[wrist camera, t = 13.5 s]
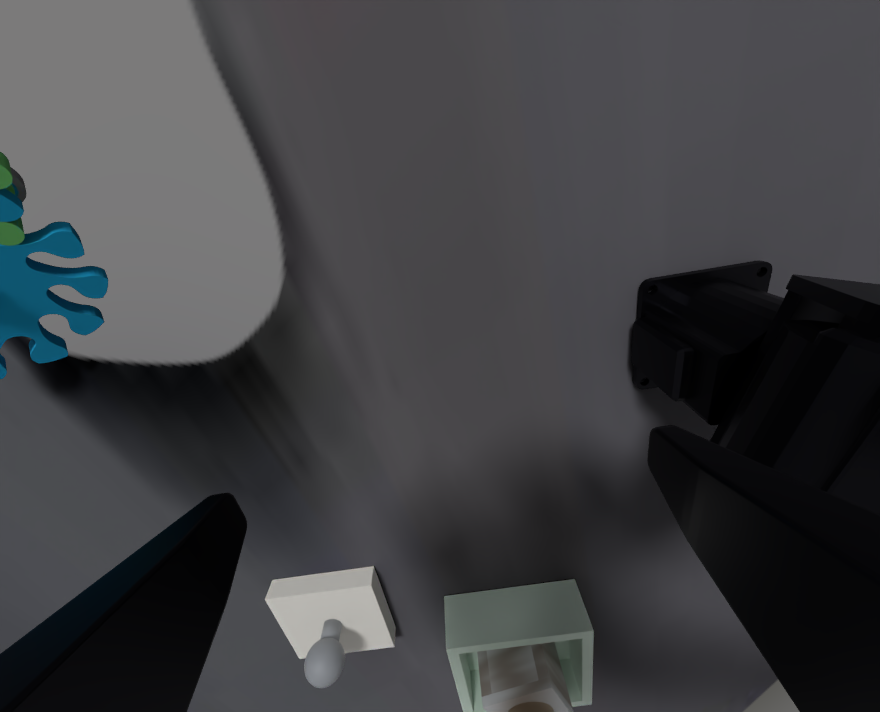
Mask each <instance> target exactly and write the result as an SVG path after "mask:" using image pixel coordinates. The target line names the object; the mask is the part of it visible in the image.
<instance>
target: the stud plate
mask: <svg viewBox="0 0 880 712" xmlns="http://www.w3.org/2000/svg"><path fill="white" fill-rule="evenodd" d="M265 601H266V602H267V604H268V606H269V608H270V609H271V611H272V613H273V614H274V616H275V618H276V619H277V621H278V623H279V625H280V626H281V628H282V630H283V631H284V633H285V635H286V637H287V638H288V640H289V642H290V643H291V645H292V647H293V648H294V650H295V652H296V654H297V655H298V657H299V659H302V658H306V659H305V664H304V671H305V675H306V678H307V680H308V681H309V683H310V684H311V685H313V686H314V687H317V688H325V687H328V686H330V685H332V684H333V683H334V682H335V681H336V680H337V679H338V678H339V676H340V675H341V673H342V671H343V668H344V664H345V653H350V652H358V651H366V650H373V649H381V648H389V647H394V645H395V631H396V626H395V623H394V621H393V618H392V615H391V612H390V610H389V607H388V604H387V601H386V599H385V596H384V593H383V590H382V588H381V585H380V582H379V579H378V576H377V574H376V571H375V568H374V566H371V567H364V568H356V569H349V570H342V571H334V572H327V573H319V574H312V575H305V576H297V577H290V578H283V579H275V580H272V582H271V585H270V588H269V590H268V593H267V595H266V598H265Z"/></svg>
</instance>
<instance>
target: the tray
mask: <svg viewBox="0 0 880 712" xmlns="http://www.w3.org/2000/svg"><path fill="white" fill-rule="evenodd" d="M444 608H445V634H446V651H447V654H448V658H449V662H450V665H451V669H452V673H453V676H454V680H455V683H456V687H457V691H458V694H459V698H460V702H461V705H462V709H463V712H487V711H486V710H485V709H484V708H483V705H482V695H481V685H480V676H479V666H478V656H477V652H478V651H486V650H494V649H502V648H510V647H518V646H526V645H534V644H542V643H550V642H555V646H556V650H557V653H558V657H559V661H560V664H561V668H562V671H563V675H564V679H565V682H566V686H567V690H568V693H569V697H570V701H571V704H572V707H575V706H584V705H592V679H593V641H594V630H593V627H592V625H591V622H590V619H589V616H588V614H587V611H586V608H585V605H584V603H583V600H582V597H581V595H580V592H579V589H578V586H577V584H576V581H575V579H570V580H563V581H555V582H547V583H540V584H532V585H525V586H517V587H509V588H502V589H494V590H487V591H479V592H471V593H464V594H456V595H449V596H444Z"/></svg>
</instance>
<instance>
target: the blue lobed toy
mask: <svg viewBox="0 0 880 712" xmlns="http://www.w3.org/2000/svg"><path fill="white" fill-rule="evenodd" d="M25 198H26V189H25V185H24V181H23V179H22V178H21V176H20V175H19V174H18V173H17V172H16V171H15V170H14V169H12V168H11V167H10V164H9V161H8V159H7V157H6V156H5V155H4V154H3V153H1V152H0V348H1V347H2V345H3V343H4V342H5V341H6V340H7V339H9V338H11V337H15V336H25V337H29V338H32V339H31V341H30V342H29V349H30V355H31V358H32V360H33V361H35V362H37V363H39V364H40V363H47V362H52V361H55V360H58V359H61V358H64V357H67V356H68V351H67V347H66V343H65V341H64V340H63V339H62V338H61V337H59V336H56V335H54V334H52V333H50V332H48V331H47V330H46V329H44V328H43V327H42V325H41V324H40V322H39V318H40V317H42V316H44V315H47V314H58V315H62V316H64V317H66V318H67V320H68V322H69V325H70V328H71V330H72V331H74V332H75V333H78V334H81V335H87V334H90V333H91V332H93V331H95V330H96V329H97V328H99V327H100V326H101V325H102V324H103V323H104V320H103V317H102V314H101V312H100V310H99V309H97V308H96V307H93V306H90V305H81V304H76V303H73V302H69V301H67V300H65V299H62V298H60V297H59V296H57V295H55V294H54V293H53V292H51V291H50V290H49V289H48V288H50V287H51V286H54V285H60V284H62V285H69V286H71V287H73V288H74V289H75V290H77V291H78V292H80V293H81V294H82V295H84V296H86V297H89V298H103V296H104V295H105V294H106V291H107V287H108V278H107V275H106V273H105V270H104V269H102V268H99V267H95V266H86V267H81V268H62V267H55V266H50V265H47V264H43V263H40V262H36V261H34V260H31V259H30V258H28V257H27V256H28V255H29V254H31V253H34V252H47V253H51V254H54V255H57V256H60V257H64V258H77V257H80V256H82V255H84V249H83V246H82V243H81V240H80V238H79V236H78V234H77V232H76V231H75V229H74V228H73V227H72V226H71V225H70V223H67V222H54V223H51V224H49V225H48V226H46V227H45V228H43V229H41V230H39V231H36V232H33V233H30V234H24V231H23V225H22V220H21V216H22V215H23V212H24V210H23V205H22V202H23V201H24V199H25ZM6 373H7V370H6V362H5V359H4V357H3V356H2V355H1V354H0V379H3V378H4V377H5V376H6Z"/></svg>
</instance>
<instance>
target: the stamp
mask: <svg viewBox="0 0 880 712" xmlns="http://www.w3.org/2000/svg"><path fill="white" fill-rule="evenodd" d="M477 656H478V666H479V676H480V685H481V695H482V705H483V708H484V709H485V710H486V711H487V712H573V708H572V704H571V701H570V697H569V693H568V690H567V686H566V682H565V679H564V675H563V671H562V668H561V664H560V661H559V657H558V653H557V650H556V646H555V642H550V643H542V644H534V645H526V646H518V647H510V648H502V649H494V650H486V651H478V652H477Z"/></svg>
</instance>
